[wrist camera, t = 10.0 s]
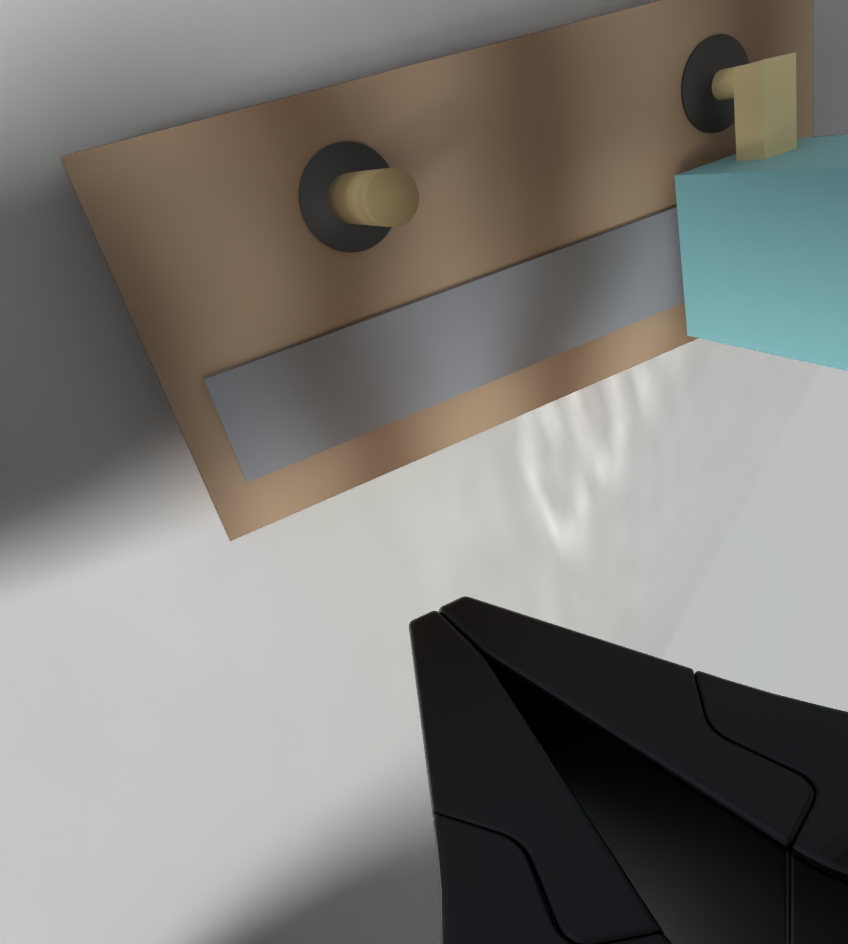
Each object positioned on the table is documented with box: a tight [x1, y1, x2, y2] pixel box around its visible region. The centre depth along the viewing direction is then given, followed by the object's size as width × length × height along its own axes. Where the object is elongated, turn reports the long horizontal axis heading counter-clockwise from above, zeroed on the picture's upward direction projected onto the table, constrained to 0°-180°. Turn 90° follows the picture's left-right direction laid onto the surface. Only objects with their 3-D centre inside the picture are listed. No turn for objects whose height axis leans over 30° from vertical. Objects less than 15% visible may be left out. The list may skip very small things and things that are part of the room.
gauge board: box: [60, 0, 813, 541], centre depth 20 cm, size 22×10×5 cm, turn 105°
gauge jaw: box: [674, 52, 848, 371], centre depth 19 cm, size 4×7×8 cm, turn 16°
